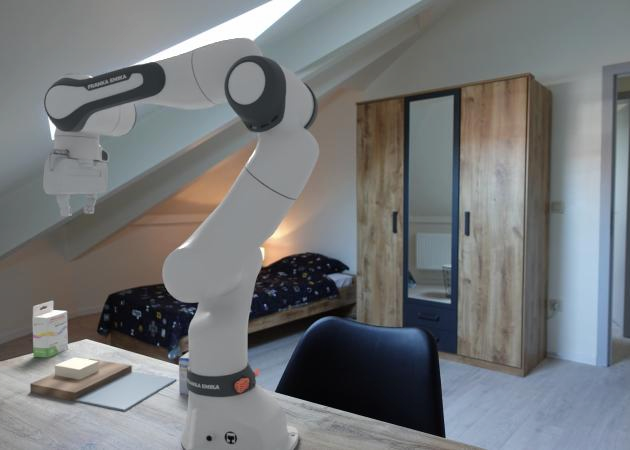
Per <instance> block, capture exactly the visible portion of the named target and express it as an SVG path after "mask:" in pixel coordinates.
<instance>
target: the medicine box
mask: <svg viewBox="0 0 630 450" xmlns="http://www.w3.org/2000/svg"><path fill="white" fill-rule="evenodd" d="M188 366H189V351H187V352H186V353H184V354H183V355H182V356H181V357H179V358H178V376H179V377H178V378H179V379H178V380H179V381H178V382H179V383H178V386H179V387H178V388H179V390H178V391H179V392H178V393H179V394H184V395H189V392H188V388H187V367H188Z"/></svg>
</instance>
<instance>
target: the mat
mask: <svg viewBox="0 0 630 450" xmlns="http://www.w3.org/2000/svg"><path fill="white" fill-rule="evenodd" d="M176 381H177V378H173V377H169V376H168V377H167V376H162V375H161V376H160V375H155V374H150V373H144V372H143V373H142V372H137V371H133V370H132V371H131V372H129V373H127V374H125V375H123V376H121V377H119V378H117V379H115V380H113V381H111V382H109V383H107V384H105V385H103V386H101V387H99V388H97V389H95V390H93V391H91V392H89V393H87V394H85V395H83V396H81V397H79V398H77V399H75V401H74V402H77V403H78V402H79V403H82V404H87V405H91V406H93V405H94V406H98V407H101V408H107V409H111V410H115V411H122V412H126V411H127V410H129V409H131V408H132V407H134V406H136V405H138V404H140V403H141V402H142V401H145V400H146V399H148V398H149V397H151V396H153V395H154V394H156V393H157V392H159V391H161V390H163V389H164V388H167V387H168V386H170V385H171V384H173V383H174V382H176Z"/></svg>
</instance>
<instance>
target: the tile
mask: <svg viewBox="0 0 630 450" xmlns="http://www.w3.org/2000/svg"><path fill="white" fill-rule="evenodd" d="M98 371H99V361H94V360H88V359H86V358H82V357H81V358H80V357H75V356H74V357H72V358H69V359H68V360H64V361H62V362H59V363H56V364H54V374H55V375H57V376H63V377H68V378H74V379H79V380H80V379H82V378H85V377H87V376H89V375H91V374H93V373H95V372H98Z"/></svg>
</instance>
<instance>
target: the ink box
mask: <svg viewBox="0 0 630 450" xmlns="http://www.w3.org/2000/svg"><path fill="white" fill-rule="evenodd" d="M54 304H55V303H54V300H49V301H47V302H42V303H38V304H37V305H32V345H33V346H32V348H33V349H32V351H33V357H35V358H42V359H43V358H51V357H52V356H55V355H57V354H60V353H62V352H64V351H66V350H68V349H69V341H68V340H69V339H68V337H69V335H68V331H69V330H68V311H67V310H60V309H59V310H57V309H55V310H54ZM43 307H46V308H43ZM42 308H43V309H42Z"/></svg>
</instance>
